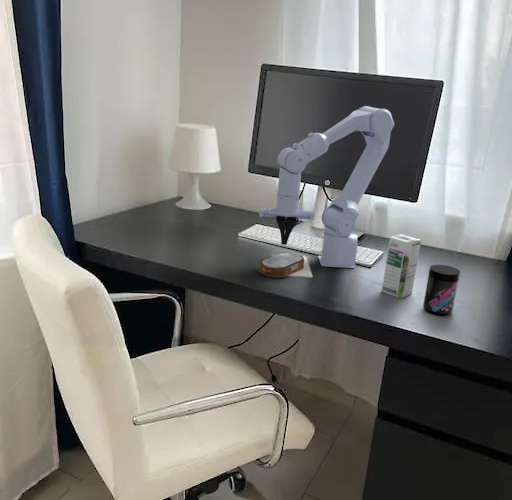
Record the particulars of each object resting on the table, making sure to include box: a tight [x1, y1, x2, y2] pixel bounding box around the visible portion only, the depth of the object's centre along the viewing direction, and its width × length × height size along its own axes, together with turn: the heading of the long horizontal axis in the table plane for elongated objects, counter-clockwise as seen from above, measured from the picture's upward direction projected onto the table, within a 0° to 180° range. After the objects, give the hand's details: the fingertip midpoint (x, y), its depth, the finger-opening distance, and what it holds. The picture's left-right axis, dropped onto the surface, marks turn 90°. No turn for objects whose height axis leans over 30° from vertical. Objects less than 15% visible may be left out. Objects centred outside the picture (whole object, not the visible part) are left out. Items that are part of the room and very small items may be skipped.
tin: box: [258, 252, 304, 278], centre depth 149 cm, size 15×3×8 cm
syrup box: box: [381, 234, 422, 300], centre depth 137 cm, size 6×6×14 cm
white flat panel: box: [287, 255, 313, 279], centre depth 153 cm, size 10×16×1 cm, turn 1°
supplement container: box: [422, 264, 461, 317], centre depth 129 cm, size 7×7×10 cm
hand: (283, 243), depth 151 cm, fingers closed
